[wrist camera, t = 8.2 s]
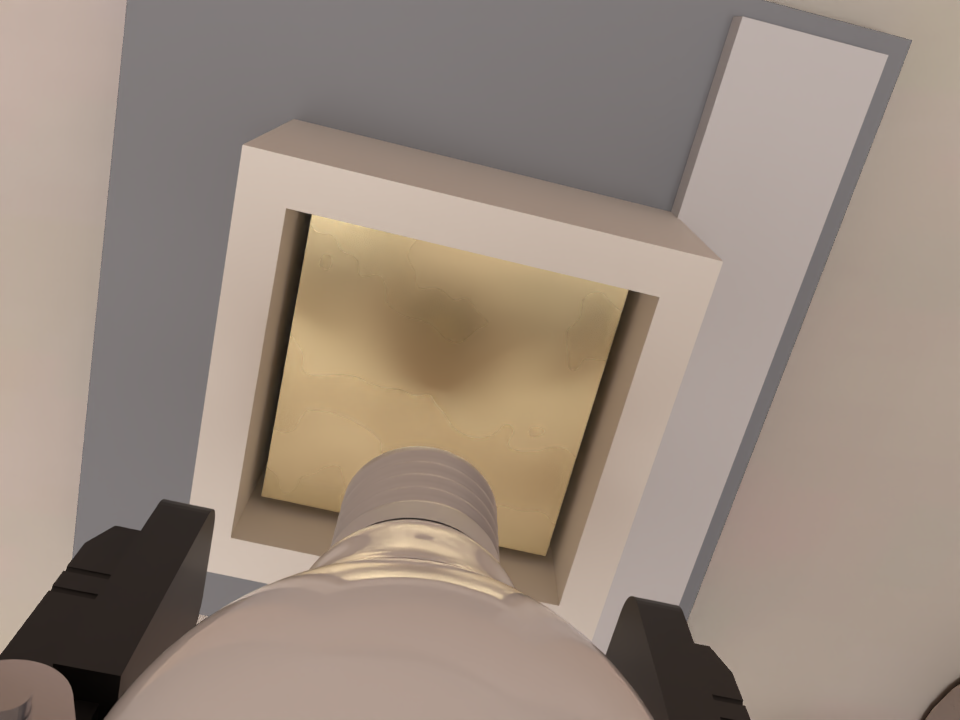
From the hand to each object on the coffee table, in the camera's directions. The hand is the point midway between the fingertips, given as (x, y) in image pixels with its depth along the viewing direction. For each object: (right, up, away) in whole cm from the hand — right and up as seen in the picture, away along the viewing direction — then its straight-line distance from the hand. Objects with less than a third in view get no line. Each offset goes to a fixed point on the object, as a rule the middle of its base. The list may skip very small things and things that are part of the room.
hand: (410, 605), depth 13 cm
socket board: (0, +4, +12) cm, 13 cm away
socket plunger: (0, +3, +9) cm, 9 cm away
